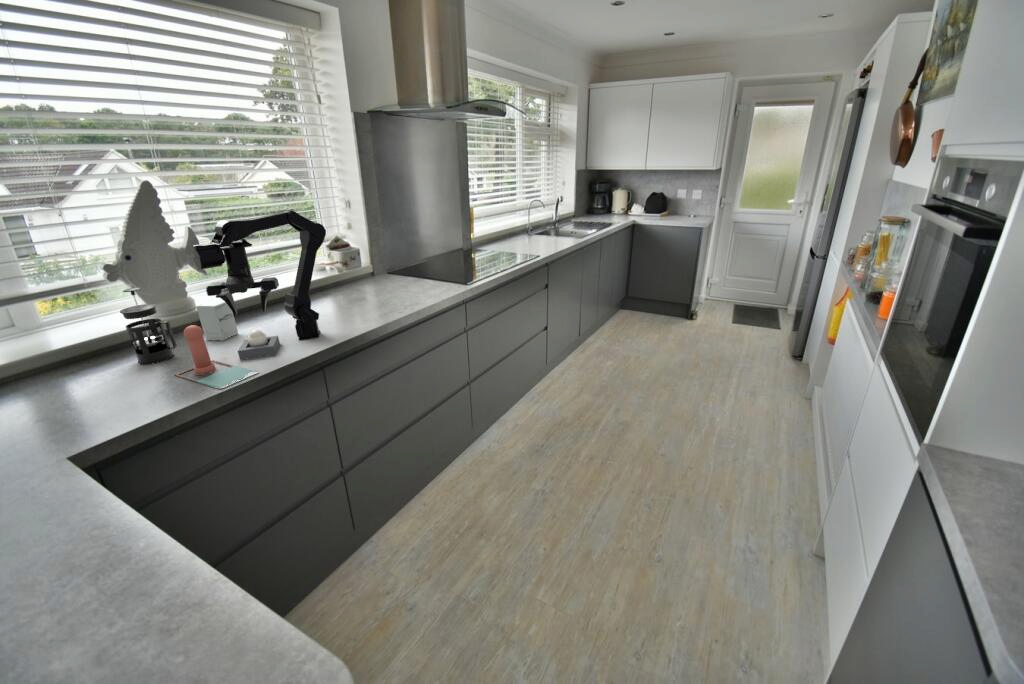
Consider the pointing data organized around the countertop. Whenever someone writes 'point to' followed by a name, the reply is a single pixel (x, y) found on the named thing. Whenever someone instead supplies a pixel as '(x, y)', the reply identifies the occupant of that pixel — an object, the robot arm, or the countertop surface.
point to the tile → (225, 376)
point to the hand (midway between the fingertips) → (250, 313)
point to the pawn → (198, 350)
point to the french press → (147, 352)
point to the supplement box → (217, 320)
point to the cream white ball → (257, 338)
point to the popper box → (259, 348)
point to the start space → (193, 368)
